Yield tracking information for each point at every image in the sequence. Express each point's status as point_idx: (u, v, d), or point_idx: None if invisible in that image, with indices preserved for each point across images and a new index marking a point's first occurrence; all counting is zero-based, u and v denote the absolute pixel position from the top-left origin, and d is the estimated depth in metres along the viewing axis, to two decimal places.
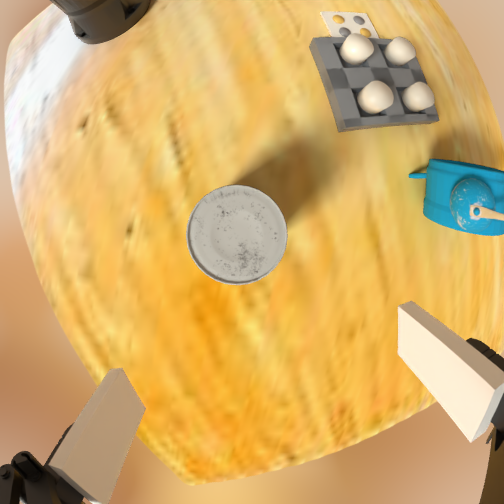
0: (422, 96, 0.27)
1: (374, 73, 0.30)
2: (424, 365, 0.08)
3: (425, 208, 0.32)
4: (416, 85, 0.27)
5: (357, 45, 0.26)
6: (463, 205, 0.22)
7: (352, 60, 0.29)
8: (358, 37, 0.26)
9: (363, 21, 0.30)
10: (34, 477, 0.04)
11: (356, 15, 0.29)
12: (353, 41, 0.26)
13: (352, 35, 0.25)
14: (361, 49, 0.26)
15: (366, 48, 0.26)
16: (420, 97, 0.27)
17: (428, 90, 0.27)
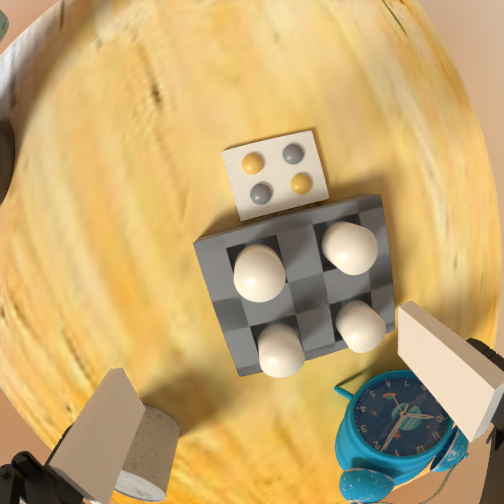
0: (361, 340, 0.22)
1: (294, 292, 0.25)
2: (424, 364, 0.08)
3: (336, 436, 0.27)
4: (355, 325, 0.22)
5: (252, 283, 0.21)
6: (344, 494, 0.17)
7: None
8: (257, 263, 0.21)
9: (301, 155, 0.25)
10: (34, 477, 0.04)
11: (290, 142, 0.24)
12: (245, 276, 0.21)
13: (245, 261, 0.21)
14: (259, 290, 0.21)
15: (270, 285, 0.21)
16: (356, 343, 0.22)
17: (377, 324, 0.22)
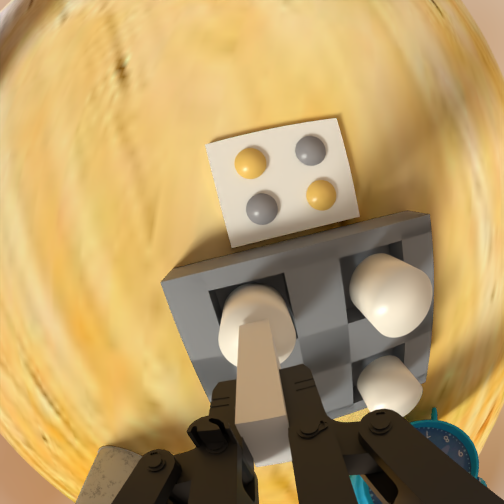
0: None
1: (306, 350, 0.17)
2: None
3: None
4: (387, 396, 0.14)
5: None
6: None
7: None
8: (254, 320, 0.13)
9: (322, 152, 0.16)
10: (216, 449, 0.06)
11: (306, 133, 0.16)
12: (236, 337, 0.13)
13: (236, 317, 0.13)
14: None
15: None
16: None
17: (413, 391, 0.14)
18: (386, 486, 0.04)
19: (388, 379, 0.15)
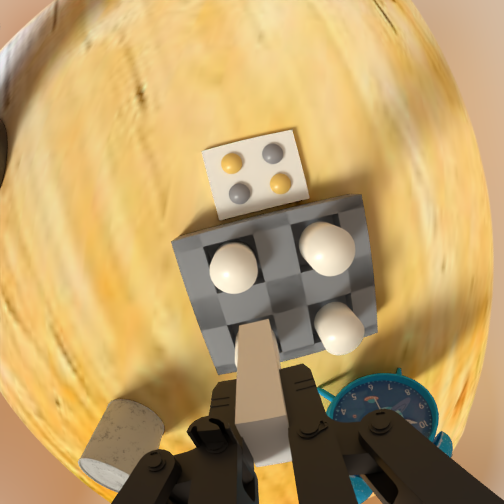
0: (338, 342, 0.23)
1: (271, 292, 0.25)
2: None
3: None
4: (331, 327, 0.22)
5: (227, 276, 0.23)
6: None
7: None
8: (231, 257, 0.22)
9: (281, 154, 0.25)
10: (216, 449, 0.06)
11: (269, 142, 0.24)
12: (220, 269, 0.22)
13: (220, 255, 0.22)
14: (233, 282, 0.23)
15: (243, 277, 0.23)
16: (334, 345, 0.23)
17: (355, 327, 0.22)
18: (386, 486, 0.04)
19: (333, 315, 0.23)
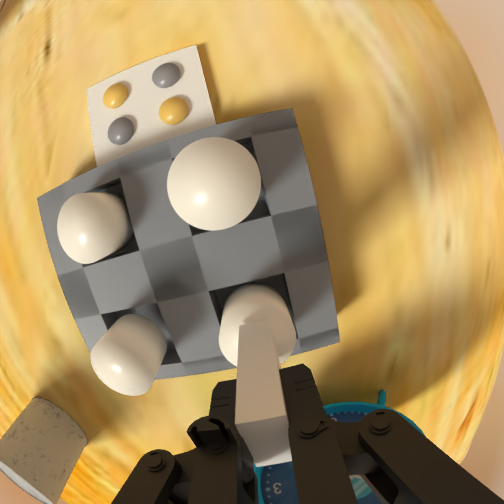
0: None
1: (150, 267, 0.16)
2: None
3: None
4: (230, 322, 0.13)
5: (75, 236, 0.13)
6: None
7: None
8: (78, 207, 0.13)
9: (177, 74, 0.15)
10: (216, 449, 0.06)
11: (164, 62, 0.15)
12: (68, 226, 0.13)
13: (67, 206, 0.13)
14: (83, 246, 0.13)
15: (93, 239, 0.13)
16: None
17: (277, 325, 0.13)
18: (386, 486, 0.04)
19: (238, 302, 0.14)
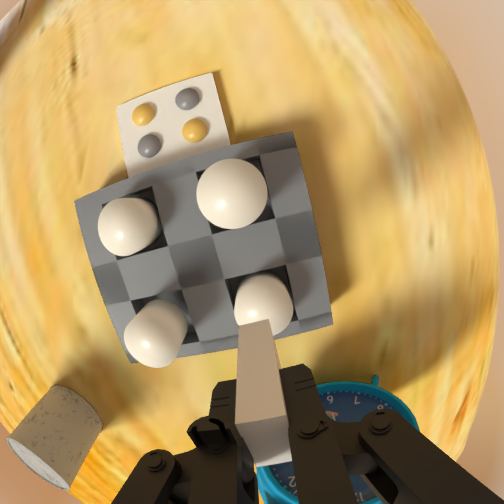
0: (256, 319, 0.18)
1: (176, 259, 0.19)
2: None
3: None
4: (243, 296, 0.18)
5: (114, 233, 0.17)
6: None
7: None
8: (118, 210, 0.17)
9: (197, 99, 0.19)
10: (216, 449, 0.06)
11: (185, 87, 0.19)
12: (108, 225, 0.17)
13: (107, 208, 0.17)
14: (121, 241, 0.17)
15: (131, 235, 0.17)
16: (250, 322, 0.18)
17: (278, 299, 0.18)
18: (386, 486, 0.04)
19: (249, 282, 0.19)
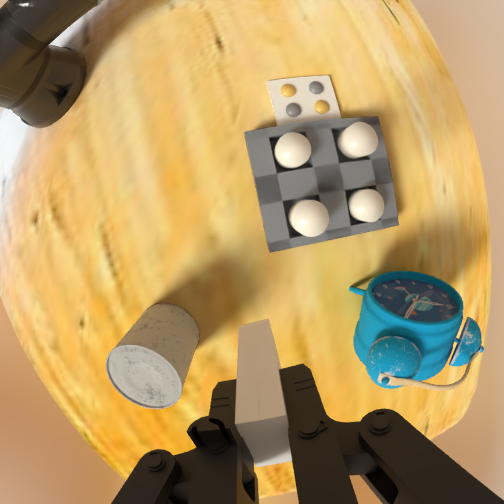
0: (366, 210, 0.30)
1: (318, 175, 0.31)
2: None
3: None
4: (361, 195, 0.30)
5: (289, 151, 0.29)
6: (373, 369, 0.23)
7: (285, 167, 0.32)
8: (293, 138, 0.29)
9: (322, 89, 0.31)
10: (216, 449, 0.06)
11: (314, 80, 0.31)
12: (284, 146, 0.29)
13: (285, 136, 0.29)
14: (293, 157, 0.29)
15: (300, 154, 0.29)
16: (363, 211, 0.30)
17: (377, 199, 0.30)
18: (386, 486, 0.04)
19: (360, 190, 0.31)
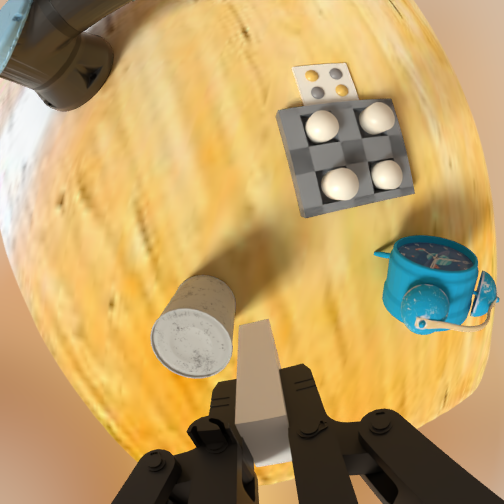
0: (388, 178, 0.32)
1: (344, 149, 0.33)
2: None
3: (383, 293, 0.36)
4: (382, 165, 0.32)
5: (320, 127, 0.31)
6: (410, 315, 0.26)
7: (315, 141, 0.34)
8: (322, 115, 0.31)
9: (341, 75, 0.33)
10: (216, 449, 0.06)
11: (333, 67, 0.33)
12: (316, 122, 0.31)
13: (316, 114, 0.31)
14: (324, 131, 0.31)
15: (330, 129, 0.31)
16: (385, 179, 0.32)
17: (396, 169, 0.32)
18: (386, 486, 0.04)
19: None
